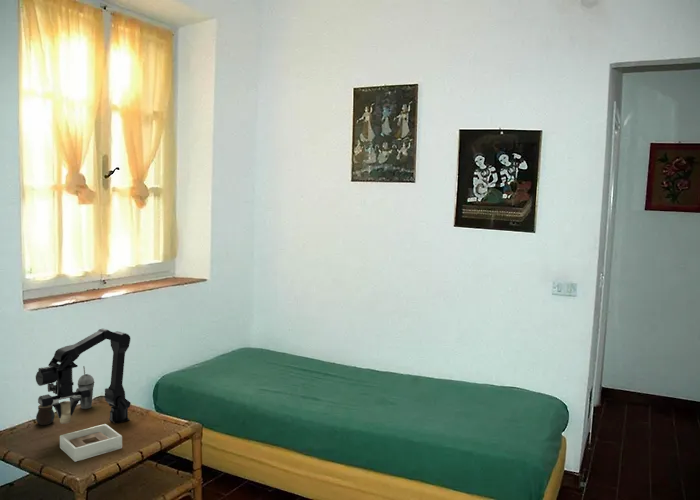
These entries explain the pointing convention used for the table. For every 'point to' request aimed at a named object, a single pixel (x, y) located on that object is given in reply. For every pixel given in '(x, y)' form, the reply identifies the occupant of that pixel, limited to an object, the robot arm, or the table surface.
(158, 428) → the table surface
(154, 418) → the table surface
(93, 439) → the bore plate
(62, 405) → the peg
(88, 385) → the beverage cup
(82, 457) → the open box
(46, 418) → the mate gourd
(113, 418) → the robot arm
